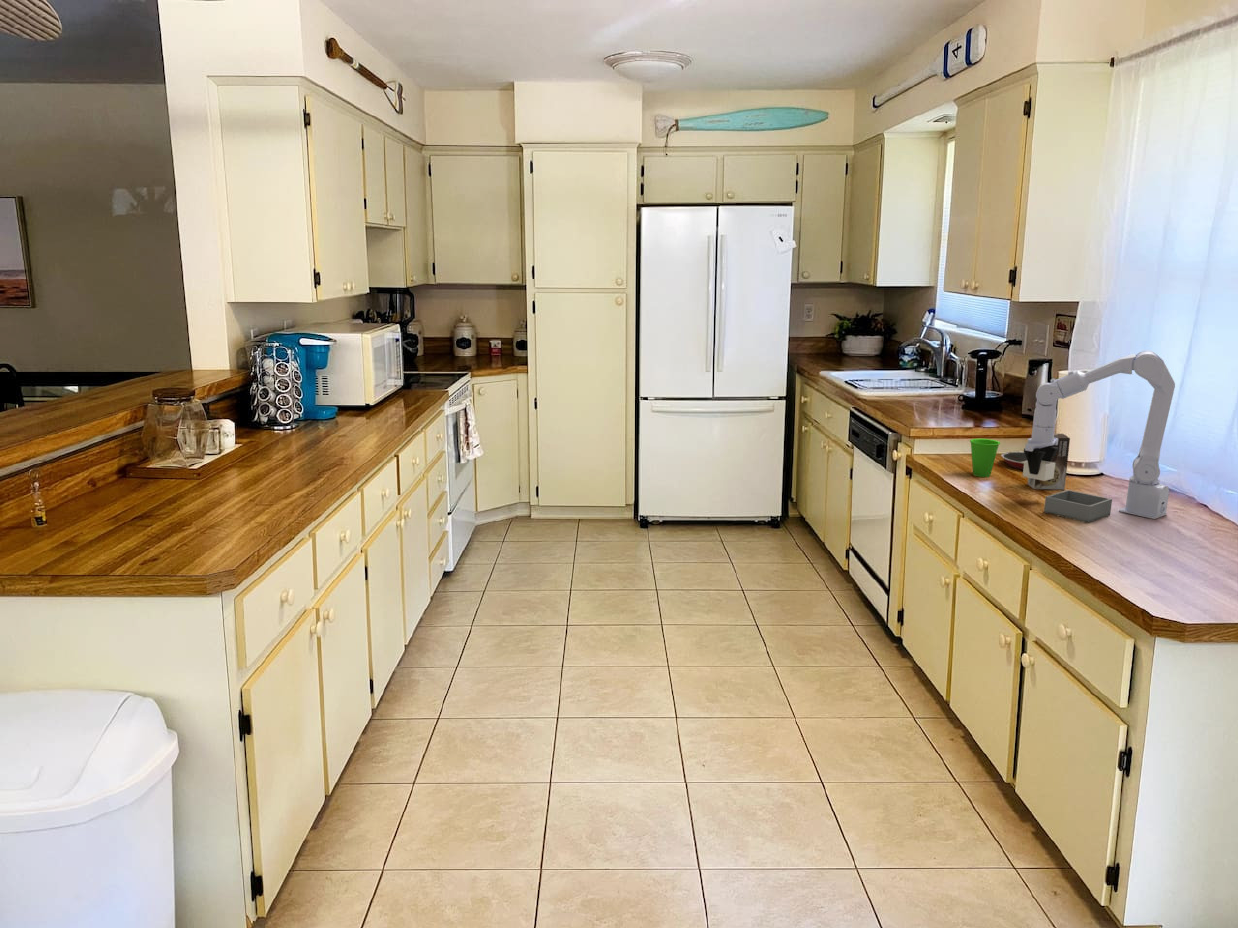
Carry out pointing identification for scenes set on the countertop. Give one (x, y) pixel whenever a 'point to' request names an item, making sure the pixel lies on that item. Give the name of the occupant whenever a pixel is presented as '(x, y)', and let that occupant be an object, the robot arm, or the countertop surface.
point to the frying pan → (1015, 459)
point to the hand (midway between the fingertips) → (1038, 472)
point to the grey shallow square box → (1078, 505)
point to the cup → (983, 456)
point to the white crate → (1040, 471)
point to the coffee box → (1060, 467)
